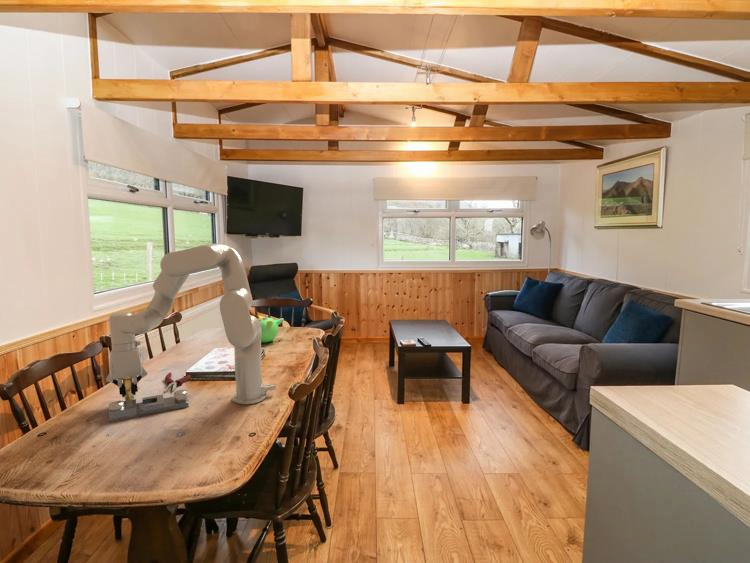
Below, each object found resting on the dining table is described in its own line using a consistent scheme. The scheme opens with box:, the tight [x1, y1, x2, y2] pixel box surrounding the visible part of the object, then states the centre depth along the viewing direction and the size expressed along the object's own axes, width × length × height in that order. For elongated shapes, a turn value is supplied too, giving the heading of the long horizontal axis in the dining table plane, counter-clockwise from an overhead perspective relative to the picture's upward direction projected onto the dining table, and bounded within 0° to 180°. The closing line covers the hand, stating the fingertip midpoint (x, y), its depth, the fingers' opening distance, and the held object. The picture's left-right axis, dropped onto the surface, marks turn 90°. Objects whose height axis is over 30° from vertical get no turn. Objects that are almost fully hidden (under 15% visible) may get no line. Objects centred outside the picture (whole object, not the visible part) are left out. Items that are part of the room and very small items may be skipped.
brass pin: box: [122, 377, 135, 401], centre depth 153 cm, size 4×4×9 cm
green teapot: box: [256, 315, 285, 344], centre depth 233 cm, size 18×17×15 cm
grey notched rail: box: [108, 389, 190, 423], centre depth 147 cm, size 24×9×4 cm, turn 119°
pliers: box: [164, 372, 192, 393], centre depth 172 cm, size 11×20×3 cm, turn 11°
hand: (129, 394), depth 153 cm, fingers closed on brass pin, 3 cm apart
